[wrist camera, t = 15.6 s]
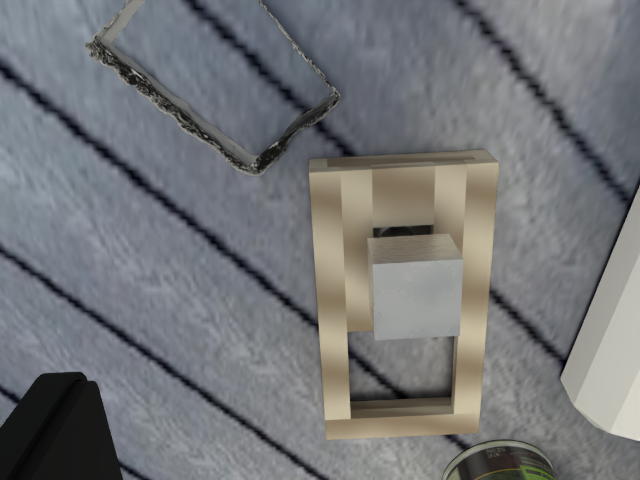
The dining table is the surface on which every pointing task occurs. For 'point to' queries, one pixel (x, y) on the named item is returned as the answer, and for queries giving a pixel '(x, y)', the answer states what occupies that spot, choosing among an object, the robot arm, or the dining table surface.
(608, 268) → the crystal
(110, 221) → the dining table surface
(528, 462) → the coffee can
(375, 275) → the keyhole peg
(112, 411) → the dining table surface
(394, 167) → the keyhole plate
